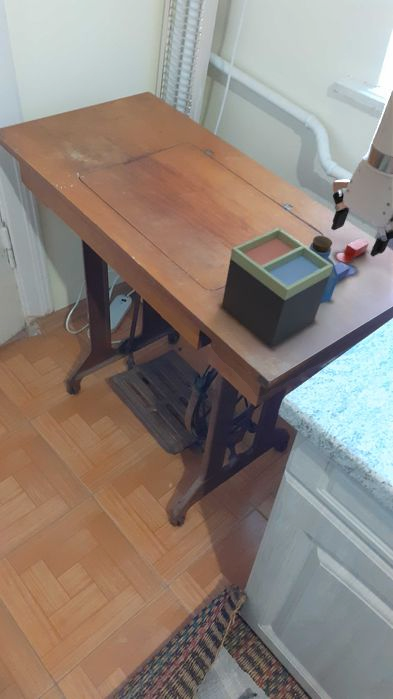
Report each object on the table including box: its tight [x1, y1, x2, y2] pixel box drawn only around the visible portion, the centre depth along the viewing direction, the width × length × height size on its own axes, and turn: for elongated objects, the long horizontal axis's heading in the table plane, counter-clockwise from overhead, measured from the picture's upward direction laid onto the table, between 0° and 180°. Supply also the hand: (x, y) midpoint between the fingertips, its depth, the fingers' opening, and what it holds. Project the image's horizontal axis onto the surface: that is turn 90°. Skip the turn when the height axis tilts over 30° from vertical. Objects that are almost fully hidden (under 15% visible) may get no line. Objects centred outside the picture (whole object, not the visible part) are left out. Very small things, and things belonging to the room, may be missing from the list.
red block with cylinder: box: [335, 237, 369, 264], centre depth 105 cm, size 7×3×3 cm, turn 130°
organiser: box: [230, 227, 333, 300], centre depth 83 cm, size 10×12×2 cm
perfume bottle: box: [308, 235, 338, 304], centre depth 92 cm, size 6×6×12 cm
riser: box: [221, 258, 330, 349], centre depth 88 cm, size 10×12×11 cm
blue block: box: [334, 261, 356, 282], centre depth 101 cm, size 7×3×3 cm, turn 130°
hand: (356, 240), depth 104 cm, fingers open, 9 cm apart
